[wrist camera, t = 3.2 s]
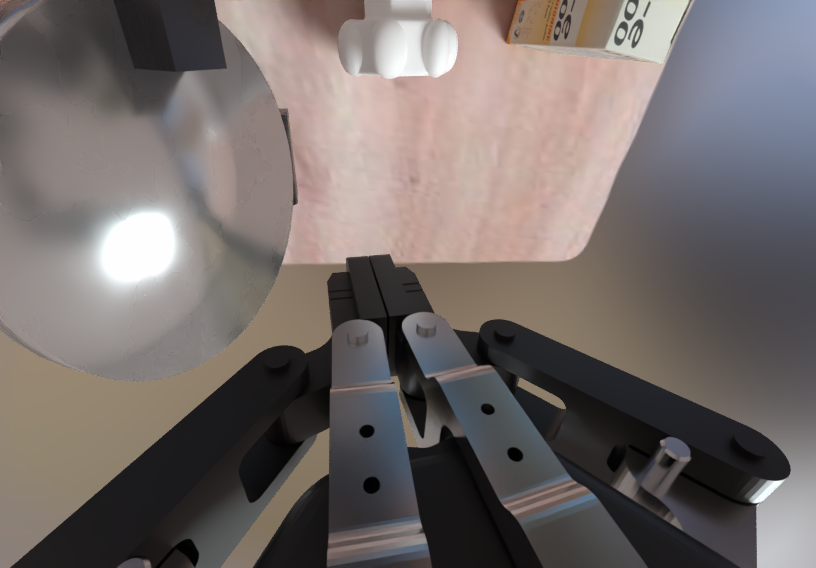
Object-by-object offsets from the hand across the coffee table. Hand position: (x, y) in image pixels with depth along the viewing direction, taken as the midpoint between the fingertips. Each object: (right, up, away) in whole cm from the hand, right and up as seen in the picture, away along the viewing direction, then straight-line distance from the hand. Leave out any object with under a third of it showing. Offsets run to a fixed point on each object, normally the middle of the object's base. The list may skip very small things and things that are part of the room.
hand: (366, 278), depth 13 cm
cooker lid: (-8, +6, +1) cm, 10 cm away
